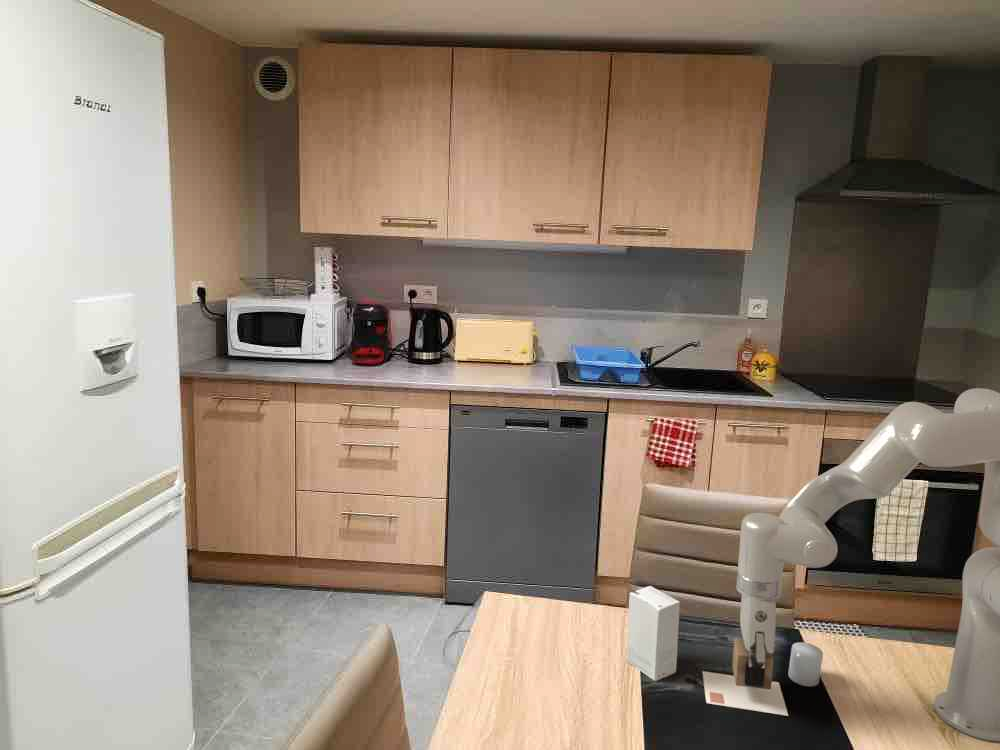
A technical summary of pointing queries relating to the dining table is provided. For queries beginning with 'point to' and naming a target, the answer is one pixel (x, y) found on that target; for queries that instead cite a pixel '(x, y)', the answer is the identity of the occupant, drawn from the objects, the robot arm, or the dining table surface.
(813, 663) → the grey rounded cylinder
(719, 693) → the letter
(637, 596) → the skincare box
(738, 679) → the walnut block
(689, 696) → the dining table surface
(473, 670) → the dining table surface
